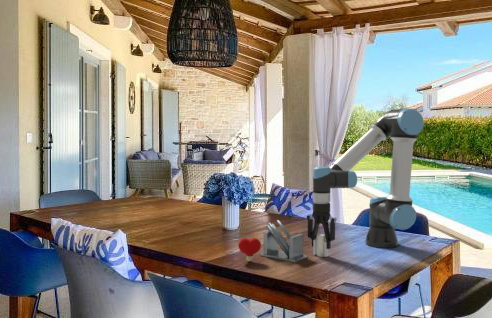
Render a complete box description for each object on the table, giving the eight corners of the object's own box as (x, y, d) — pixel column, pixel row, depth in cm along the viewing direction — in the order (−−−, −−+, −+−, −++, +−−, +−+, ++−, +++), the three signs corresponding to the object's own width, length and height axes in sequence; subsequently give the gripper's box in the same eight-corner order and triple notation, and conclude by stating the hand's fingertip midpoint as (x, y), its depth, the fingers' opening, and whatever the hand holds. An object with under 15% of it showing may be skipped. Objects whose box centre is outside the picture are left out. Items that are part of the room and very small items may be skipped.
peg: (326, 255, 214) (326, 235, 213) (322, 257, 211) (323, 236, 210) (319, 254, 216) (319, 234, 215) (315, 255, 213) (315, 235, 212)
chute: (307, 257, 211) (307, 222, 210) (295, 262, 203) (295, 226, 202) (272, 251, 221) (272, 218, 220) (259, 255, 213) (260, 221, 212)
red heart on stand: (260, 259, 207) (260, 236, 206) (261, 264, 200) (261, 239, 199) (238, 259, 206) (238, 236, 206) (238, 264, 199) (238, 240, 199)
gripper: (344, 203, 210) (343, 256, 211) (307, 199, 220) (307, 250, 222) (336, 205, 204) (335, 260, 205) (299, 201, 214) (299, 253, 216)
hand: (320, 255), depth 213 cm, fingers open, 5 cm apart
